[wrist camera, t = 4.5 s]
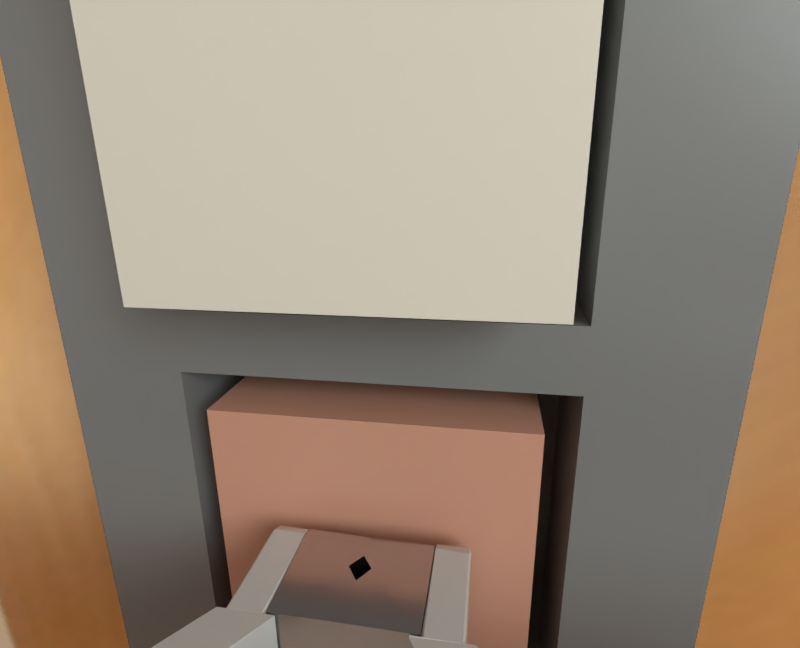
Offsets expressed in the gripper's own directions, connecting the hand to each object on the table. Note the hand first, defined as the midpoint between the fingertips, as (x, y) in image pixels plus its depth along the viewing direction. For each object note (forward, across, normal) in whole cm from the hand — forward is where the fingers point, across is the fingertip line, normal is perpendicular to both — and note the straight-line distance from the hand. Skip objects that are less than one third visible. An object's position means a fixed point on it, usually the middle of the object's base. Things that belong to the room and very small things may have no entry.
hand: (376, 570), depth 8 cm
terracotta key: (+2, 0, 0) cm, 2 cm away
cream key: (+1, 0, -7) cm, 7 cm away
